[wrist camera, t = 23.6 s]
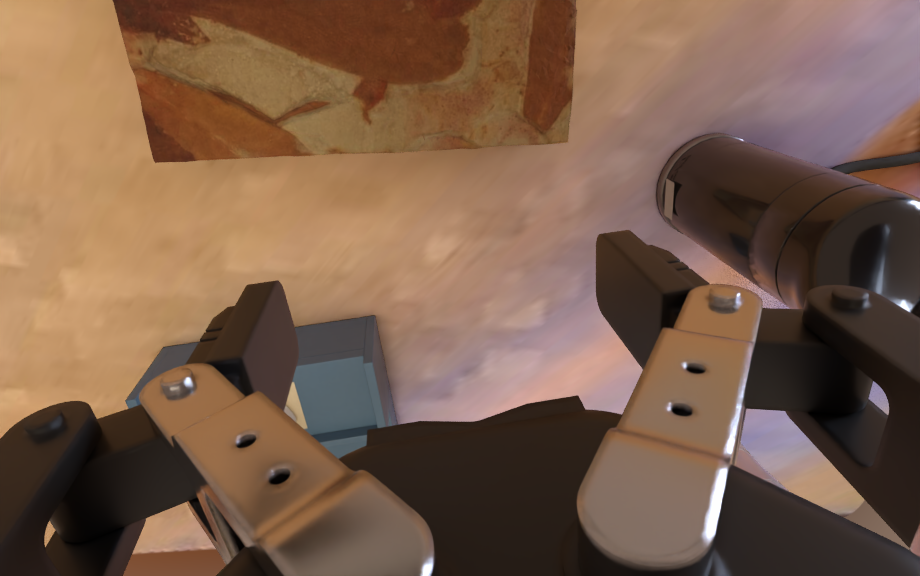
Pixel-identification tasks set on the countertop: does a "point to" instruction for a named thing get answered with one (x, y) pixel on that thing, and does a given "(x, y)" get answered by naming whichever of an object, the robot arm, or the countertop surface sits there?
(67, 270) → the countertop surface
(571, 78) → the decorative slab
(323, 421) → the shelf
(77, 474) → the robot arm
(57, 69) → the countertop surface
